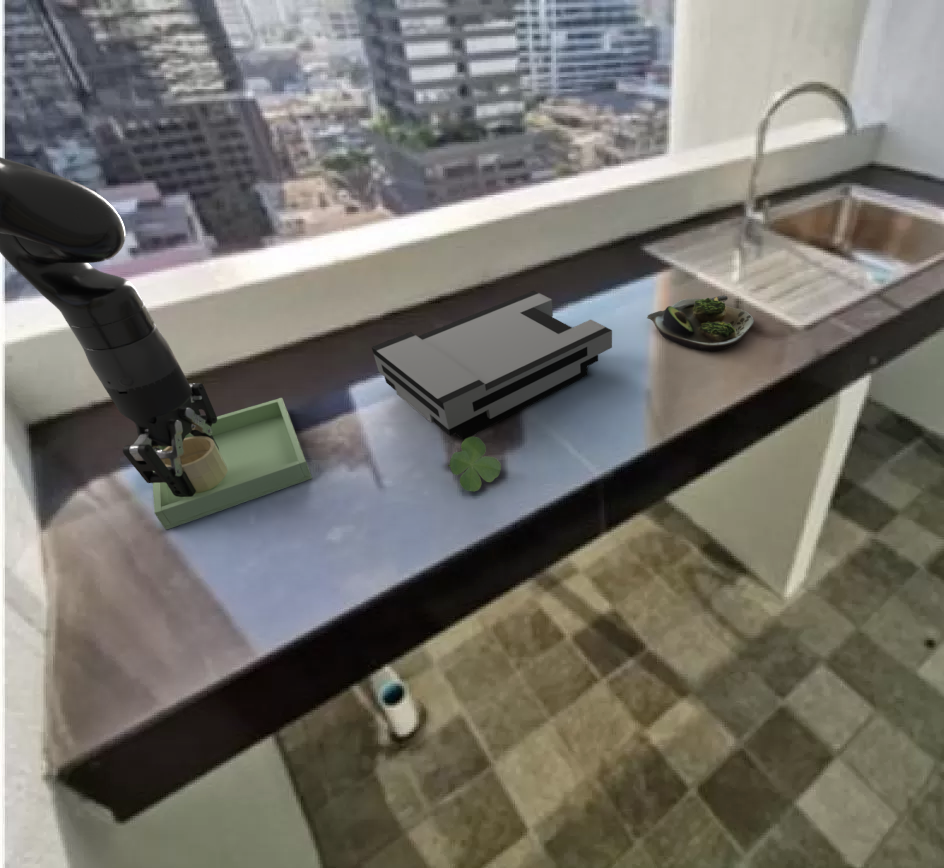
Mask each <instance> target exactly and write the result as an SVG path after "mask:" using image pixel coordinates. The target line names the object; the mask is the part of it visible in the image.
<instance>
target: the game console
mask: <svg viewBox="0 0 944 868" xmlns="http://www.w3.org/2000/svg"><path fill="white" fill-rule="evenodd" d="M553 316H554V313H553V299H552V298H550V297H547V296H546V295H544V294H542V293H540V292H538V291H535V290H532V291H529V292H527V293H524V294H521V295H519V296H516V297H514V298H511V299H508V300H507V301H504V302H500V303H498V304H496V305H494V306H491V307H489V308H486V309H483V310H480V311H478V312H476V313H473V314H470V315H468V316H466V317H464V318H460V319H458V320H455V321H452V322H450V323H448V324H446V325H443V326H440V327H438V328H435V329H433V330H430V331H428V332H425V333H423V334H419V335H416V334H415V333H413V332H411V331H409V332H407V333H404V334H401V335H399V336H397V337H394V338H391V339H389V340H386V341H384V342H381V343H378V344H376V345H373V346H371V350H372V353H373V357H374V360H375V364H376V367H377V372H378V373H379V374H381V375H382V376H383V377H384V379H385V383H386V384H387V385H388V386H389V387H391V388H392V389H393V391H395V393H396V395H398V397H400V398H401V399H402V400H403V401H405V402H406V404H408V405H409V406H410V407H412V408H413V409H414V410H415V411H416V412H417V413H418V414H420V415H421V416H422V417H424V418H425V419H426V420H427V421H428V422H430V423H431V424H433V423H434V424H435V425H436V426H438V427H439V429H441V431H443V432H445V433H446V434H447V435H448V436H450V437H451V436H454V435H457V436H458V437H459V438H460V439H461V440H463V441H464V440H465V439H466V438H469V437H473V436H474V435H476V434H478V433H480V432H481V431H483V430H486V429H488V428H489V427H491V426H494V425H495V424H497V423H499V422H501V421H503V420H505V419H507V418H509V417H510V416H512V415H514V414H516V413H518V412H520V411H522V410H524V409H526V408H528V407H529V406H531V405H533V404H536V403H538V402H539V401H541V400H543V399H545V398H547V397H549V396H550V395H553V394H555V393H557V392H558V391H560V390H562V389H564V388H566V387H568V386H570V385H572V384H574V383H575V382H578V381H579V380H582V379H583V378H585V377H588V375H589V374H588V373H589V372H588V367H589V366H591V365H593V364H595V363H597V362H599V355H600V354H602V353H604V352H606V351H608V350H610V349H612V348H613V330H612V329H611V328H609V327H607V326H605V325H603V324H601V323H599V322H597V321H595V320H593V319H589V320H586V321H584V322H582V323H580V324H578V325H575V326H573V327H572V326H570V325H568V324H566V323H564V322H562V321H561V320H559V319H557V318H555V317H553Z"/></svg>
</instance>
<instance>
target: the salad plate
mask: <svg viewBox="0 0 944 868" xmlns="http://www.w3.org/2000/svg"><path fill="white" fill-rule="evenodd" d="M726 301H728V296H727V295H718V296H715V297H710V298H709V297H706V298H697V297H696V298H684V299H681V300H678V301H677V302H675V303H674V304H673V305H669V306H667V307H666V308H665V309H664V310H658V311H654V312H651V313H650V314H647V317H646V319H649V320H650V321H652V322H653V324H654V326H655V328H656V330H657V331H658V333H659V334H660V335H661V337H663V338H664V339H666V340H668V341H669V342H673V343H675V344H677V345H680V346H683V347H685V348H689V349H692V350H695V351H702V352H719V351H723V350H725V349H728V348H730V347H733V346H734V345H736V344H737V343H739V342H740V341H741V340H742V337H744V336H745V335H746V334H747V333H748V331H749V330H750V329H751V327H752V326H753V325H754V317H753V316H752V315H751V314H750V313H749V312H748V311H746V310H744V309H741V308H737V307H732V306H729V305H726V303H725V302H726Z"/></svg>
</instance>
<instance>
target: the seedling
mask: <svg viewBox="0 0 944 868" xmlns="http://www.w3.org/2000/svg"><path fill="white" fill-rule="evenodd" d="M460 449H461V451H455V452H454V453H452V454H451V457H450V460H449V464H448V465H447V467H449V468H450V471H451V473H452V474H453V475H454V476H459V475H460V478H459V484H460V486H461V488H463V490H464V491H467V492H477V491H479V490H480V489H481V487H482V479H483V481H485V482H486V483H492V482H493V481H494V480H495V479H497V478H498V477H499V475H500V473H501V470H502V464H501V462H500V461H499V460H498V458H496V457H494V456H489V455H488V456H487V455H486V456H485V454H486V451H487V447H486V445H485V443H484V441H483V440H482V439H481V438H480V437H478V436H470V437H468V438H466V439H464V440H463V441H462V442H461V445H460ZM481 478H482V479H481Z"/></svg>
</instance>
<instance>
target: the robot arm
mask: <svg viewBox="0 0 944 868" xmlns="http://www.w3.org/2000/svg"><path fill="white" fill-rule="evenodd" d="M121 217H122V216H120V214H119V212H118V211H117V210H116V208H115V207H114V206H113V205H112V204H111V203H110V202H109V201H108V200H107V199H106V198H105V197H103V196H102V195H101V194H99V193H98V192H96V191H95V190H93V189H92V188H89V187H88V186H86V185H84V184H81V183H79V182H76V181H74V180H72V179H69V178H66V177H63V176H60V175H57V174H55V173H52V172H49V171H46V170H42V169H40V168H37V167H33V166H31V165H27V164H24V163H21V162H17V161H15V160H10V159H6V158H4V157H1V156H0V254H1V255H2V257H4V259H5V260H6V261H7V262H8V263H9V264H10V265H11V266H12V267H13V268H14V269H15V270H16V271H17V272H18V273H19V274H20V276H22V277H23V278H24V279H25V280H27V281H28V283H29V284H30V285H31V286H32V287H33V288H35V290H36V291H38V292H39V293H40V294H41V295H42V296H43V297H44V298H45V300H47V301H48V302H50V303H51V305H53V306H54V307H55V308H56V309H57V310H58V311H59V312H60V313H61V315H62V317H63V319H64V320H65V322H66V323H67V325H68V327H69V328H70V330H71V331H72V333H73V334H74V336H75V337H76V339H77V341H78V342H79V344H80V345H81V348H82V350H83V351H84V352H83V353H84V354H85V356H86V359H87V361H88V363H89V365H90V367H91V369H92V370H93V372H94V373H95V375H96V377H97V378H98V380H99V382H100V383H101V385H102V386H103V388H104V389H105V391H106V392H107V395H109V397H110V399H111V400H112V402H113V403H114V406H115V408H117V410H118V411H119V413H120V414H121V415H122V416H123V417H125V418H127V419H129V420H130V421H132V422H133V423H134V425H135V427H136V432H137V435H138V437H137V439H136V440H135V441H134V443H133V444H125V445H124V446H123V447H122V453H123V455H124V456H125V457H126V459H127V460H128V461H129V462H130V463H131V465H132V466H133V467H134V469H135V470H136V472H137V473H138V474H139V475H140V476H141V477H142V478H143V480H144V481H145V482H146V483H147V484H153V483H167V485H168V487H169V488H170V490H171V491H172V493H173V495H175V496H178V497H192V496H193V495H194V494H195V492H196V490H195V488H194V486H193V485H192V483H191V481H190V480H189V478H188V476H187V475H186V473H185V471H183V470H182V463H181V457H182V456H183V455H184V449H183V440H184V438H185V436H186V435H188V434H189V435H190V436H206V437H209V438H211V439H212V440H214V438H213V436H212V434H213V429H212V427H211V426H212V424H215V423H216V422H217V417H218V416H217V414H216V411H215V409H214V406H213V405H212V403H211V400H210V398H209V395H208V393H207V391H206V388H205V386H204V384H203V383H202V382H198V383H196V382H195V383H194V382H193V383H189V381H188V379H187V376H186V375H185V373H184V371H183V370H182V366H180V363H179V362H178V360H177V358H176V356H175V354H174V352H173V350H172V348H171V346H170V345H169V342H168V341H167V338H165V336H164V335H163V333H162V332H161V331H160V329H159V328H158V327H157V325H156V323H155V320H154V319H153V317H152V316H151V313H150V312H149V310H148V307H147V306H146V304H145V302H144V300H143V299H142V297H141V295H140V293H139V291H138V290H137V288H136V287H135V285H134V284H133V283H132V282H131V281H129V280H128V279H126V278H124V277H121V276H118V275H115V274H110V273H107V272H103V271H101V270H98V269H97V268H94V267H93V266H92V265H91V264H94V263H95V264H96V263H101V262H105V261H107V260H110V259H113V258H114V257H115V256H116V255H118V254H119V252H120V251H121V250H122V249H123V247H124V244H125V242H126V228H125V224H124V221H123V220H122V218H121ZM200 410H203V412H204V414H202V413H201V411H200ZM214 442H215V440H214ZM215 444H216V442H215ZM159 446H162V447H168V446H172V451H162V450H161V449H160V448H159ZM216 446H217V444H216ZM217 448H218V446H217ZM218 450H219V448H218ZM219 452H220V451H219ZM220 454H221V453H220ZM165 458H168V459H170V461H171V467H166V464H165ZM153 471H155V472H153Z"/></svg>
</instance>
